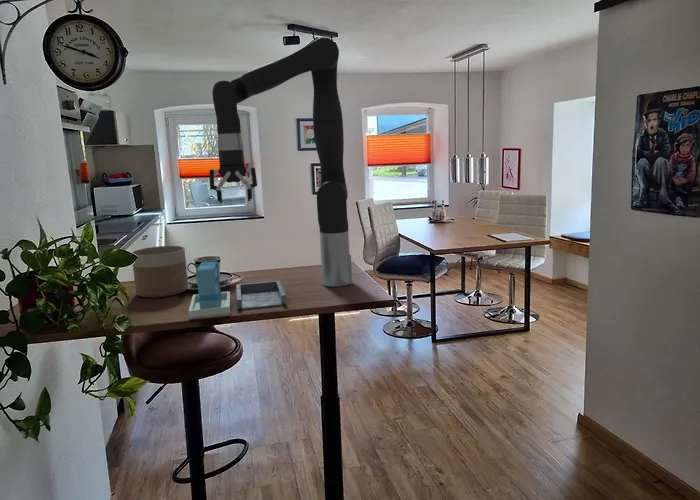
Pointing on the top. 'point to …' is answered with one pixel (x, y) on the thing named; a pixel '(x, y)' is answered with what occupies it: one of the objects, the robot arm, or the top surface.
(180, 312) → the top surface
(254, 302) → the bay
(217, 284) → the blue flat block
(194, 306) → the tray
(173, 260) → the planter
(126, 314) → the top surface
